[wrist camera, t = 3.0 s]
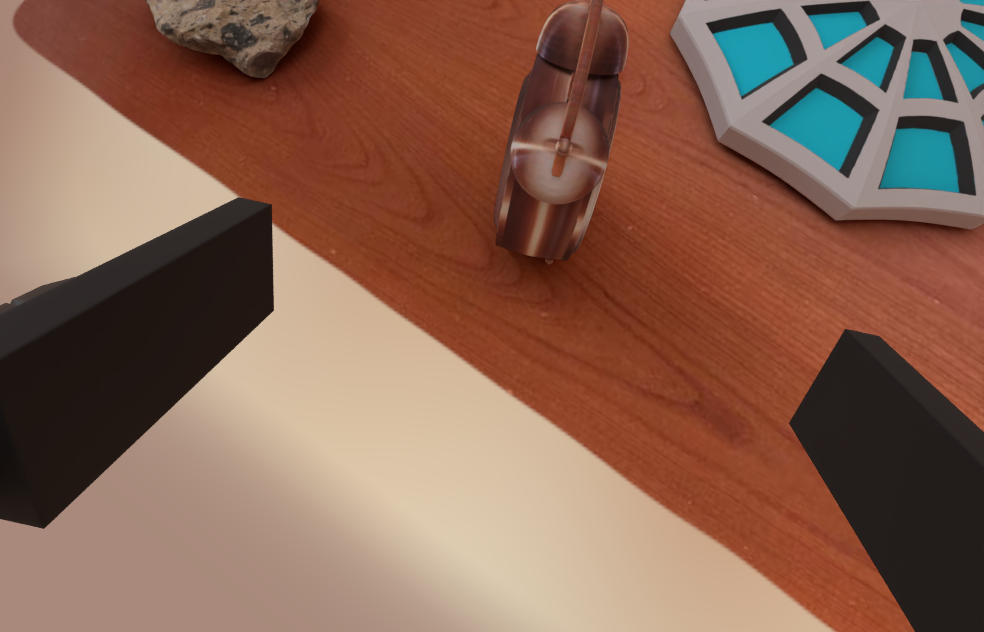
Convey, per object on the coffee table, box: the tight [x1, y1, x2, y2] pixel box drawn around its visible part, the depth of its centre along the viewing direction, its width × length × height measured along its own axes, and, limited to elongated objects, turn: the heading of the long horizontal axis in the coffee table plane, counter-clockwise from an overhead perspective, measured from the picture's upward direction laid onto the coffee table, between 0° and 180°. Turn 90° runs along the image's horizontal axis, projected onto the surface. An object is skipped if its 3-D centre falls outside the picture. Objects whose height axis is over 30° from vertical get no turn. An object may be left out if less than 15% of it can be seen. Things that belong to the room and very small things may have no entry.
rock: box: [145, 0, 319, 78], centre depth 36 cm, size 11×11×4 cm
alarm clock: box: [494, 0, 629, 264], centre depth 28 cm, size 11×5×15 cm, turn 167°
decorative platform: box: [670, 0, 984, 229], centre depth 37 cm, size 31×29×5 cm
